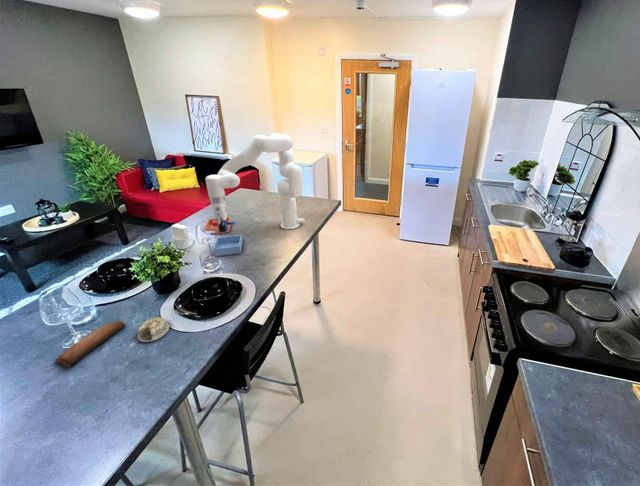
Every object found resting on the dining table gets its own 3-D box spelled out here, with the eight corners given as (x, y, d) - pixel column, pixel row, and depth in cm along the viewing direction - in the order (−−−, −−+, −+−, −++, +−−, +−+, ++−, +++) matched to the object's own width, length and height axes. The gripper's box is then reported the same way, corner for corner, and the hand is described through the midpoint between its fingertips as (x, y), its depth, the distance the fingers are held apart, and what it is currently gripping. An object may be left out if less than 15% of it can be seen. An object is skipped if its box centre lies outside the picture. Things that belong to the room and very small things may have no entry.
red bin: (231, 223, 191) (230, 216, 189) (229, 232, 180) (227, 225, 178) (209, 225, 188) (208, 219, 186) (205, 234, 176) (204, 228, 174)
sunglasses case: (109, 321, 112) (110, 312, 109) (124, 331, 112) (126, 322, 109) (53, 361, 96) (53, 351, 93) (70, 372, 96) (71, 363, 93)
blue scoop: (236, 226, 161) (235, 218, 159) (235, 230, 157) (234, 222, 155) (219, 228, 159) (217, 220, 157) (218, 232, 155) (216, 223, 153)
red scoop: (228, 225, 187) (227, 218, 185) (227, 228, 183) (226, 221, 181) (214, 227, 185) (212, 220, 183) (213, 230, 181) (211, 223, 179)
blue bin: (242, 241, 170) (241, 234, 168) (240, 253, 159) (239, 246, 157) (218, 244, 167) (216, 237, 165) (214, 256, 155) (213, 249, 153)
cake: (152, 322, 114) (149, 310, 112) (176, 324, 113) (173, 313, 111) (130, 341, 104) (127, 329, 103) (156, 344, 104) (153, 332, 102)
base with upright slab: (171, 246, 163) (165, 228, 158) (185, 239, 171) (180, 221, 166) (183, 250, 160) (178, 231, 155) (197, 242, 168) (192, 224, 163)
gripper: (223, 204, 144) (229, 236, 151) (227, 192, 158) (232, 222, 166) (206, 205, 141) (213, 237, 149) (212, 193, 156) (218, 223, 164)
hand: (223, 229), depth 157 cm, fingers closed on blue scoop, 4 cm apart
